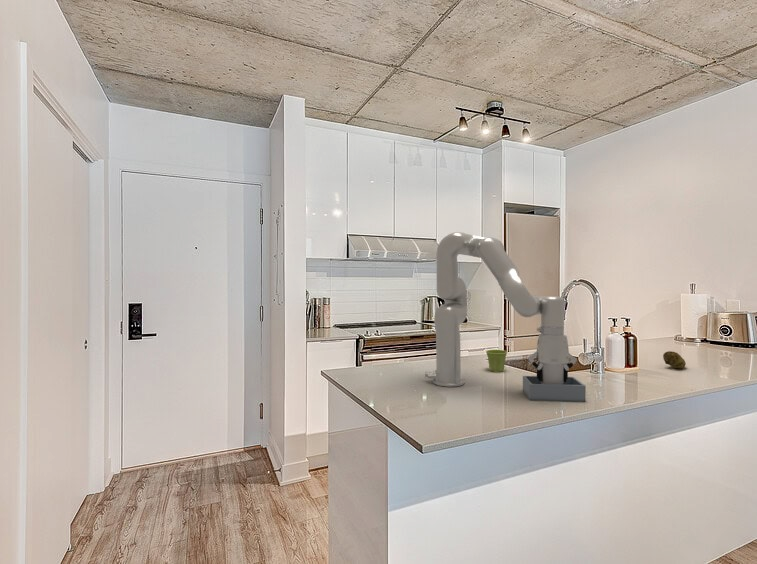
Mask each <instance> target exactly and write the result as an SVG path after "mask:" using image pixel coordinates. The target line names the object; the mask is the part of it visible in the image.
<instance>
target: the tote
mask: <svg viewBox="0 0 757 564" xmlns="http://www.w3.org/2000/svg"><path fill="white" fill-rule="evenodd" d="M522 391H523V392H524V393H523V394H525V395H526V397H527V398H528V399H529V401H539V402H540V401H541V402H542V401H543V402H544V401H545V402H571V403H572V402H573V403H574V402H575V403H577V402H578V403H579V402H580V403H581V402H582V403H586V399H587V398H586V385H585V384H584V383H583V382H581V381H580V380H579V379H577V378H576V377H575V376H568V379H566V382H564V385H559V384H541V381H539V380H538V378H537V375H522Z"/></svg>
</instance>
